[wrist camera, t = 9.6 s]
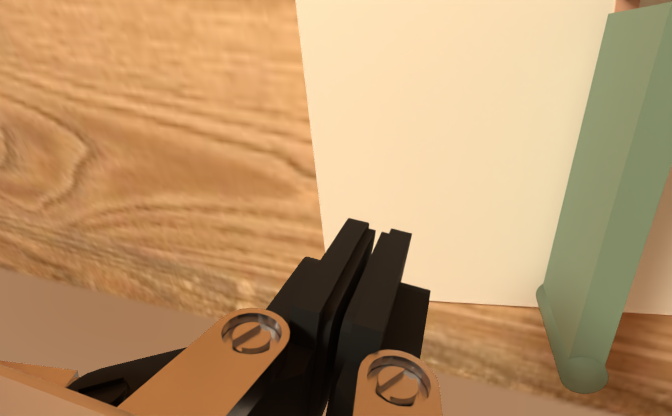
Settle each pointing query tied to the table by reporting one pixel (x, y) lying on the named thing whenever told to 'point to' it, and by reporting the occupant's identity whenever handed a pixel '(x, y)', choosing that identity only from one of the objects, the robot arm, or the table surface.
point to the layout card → (462, 136)
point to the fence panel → (610, 194)
